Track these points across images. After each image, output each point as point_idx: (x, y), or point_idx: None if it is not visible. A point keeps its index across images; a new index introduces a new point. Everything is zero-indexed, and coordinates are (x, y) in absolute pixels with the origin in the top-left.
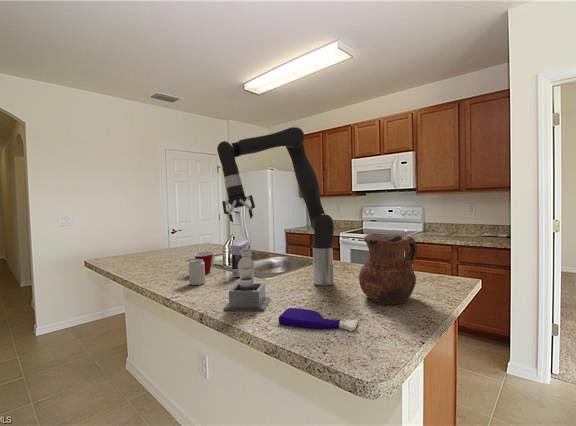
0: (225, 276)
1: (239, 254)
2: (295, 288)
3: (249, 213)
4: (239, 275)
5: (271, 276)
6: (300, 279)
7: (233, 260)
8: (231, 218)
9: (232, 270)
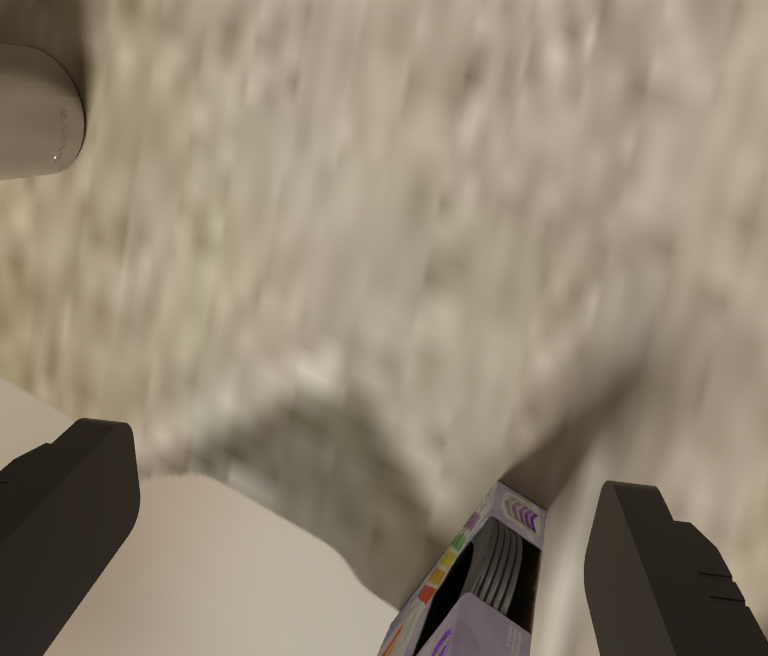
0: None
1: (466, 595)
2: (204, 64)
3: (42, 501)
4: (497, 490)
5: (294, 410)
6: (143, 257)
7: (521, 603)
8: (681, 557)
9: (541, 541)
